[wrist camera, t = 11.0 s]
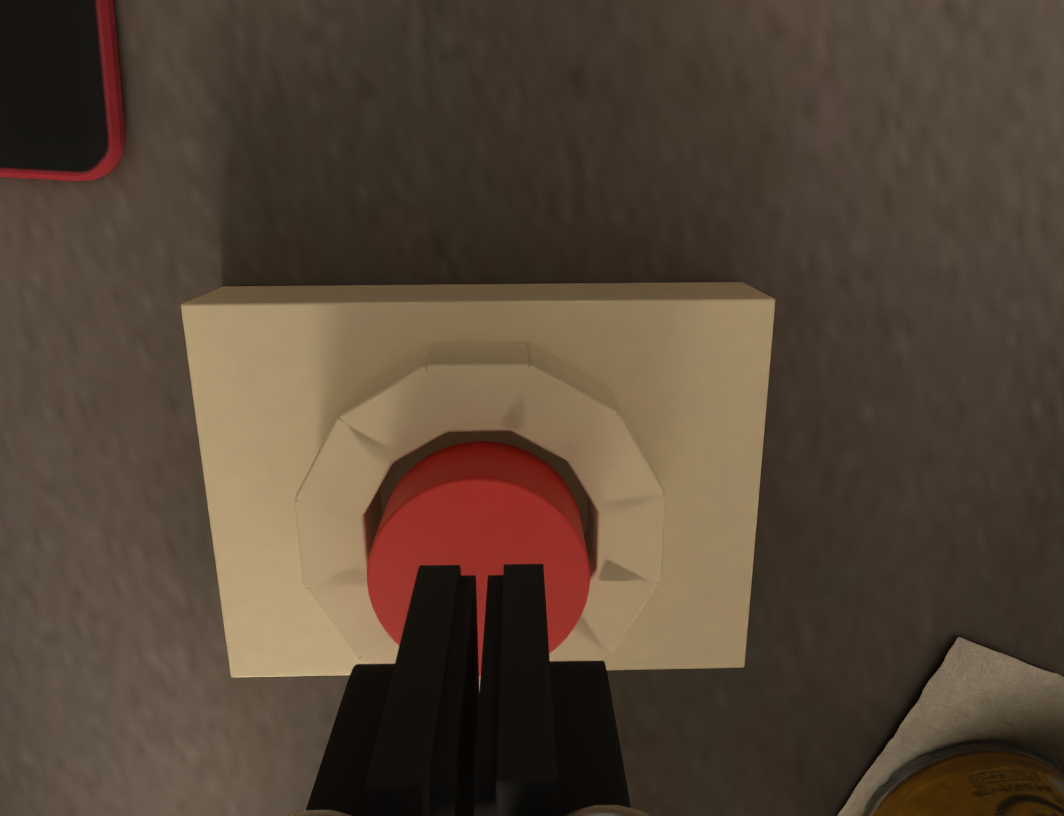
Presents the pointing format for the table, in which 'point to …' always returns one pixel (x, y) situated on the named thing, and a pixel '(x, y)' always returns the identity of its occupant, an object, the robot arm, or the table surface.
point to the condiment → (973, 744)
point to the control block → (492, 416)
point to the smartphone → (59, 90)
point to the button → (480, 532)
